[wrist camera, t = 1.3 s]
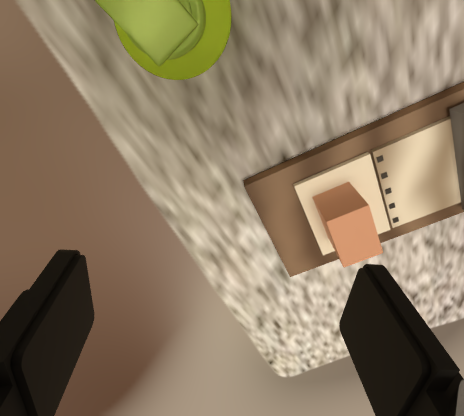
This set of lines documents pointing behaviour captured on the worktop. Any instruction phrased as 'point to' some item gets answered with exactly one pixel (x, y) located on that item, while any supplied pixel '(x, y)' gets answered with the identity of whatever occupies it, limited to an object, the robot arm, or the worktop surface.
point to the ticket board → (387, 173)
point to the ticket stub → (345, 209)
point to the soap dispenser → (172, 33)
